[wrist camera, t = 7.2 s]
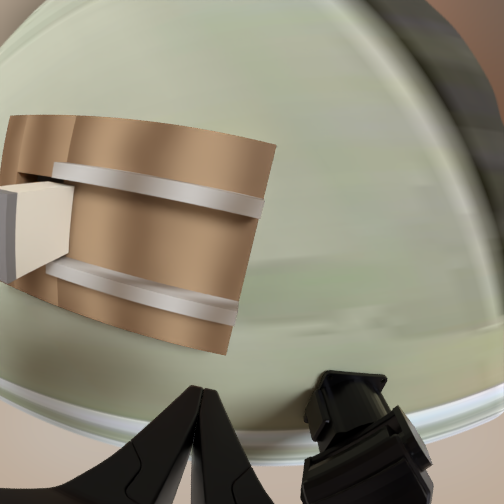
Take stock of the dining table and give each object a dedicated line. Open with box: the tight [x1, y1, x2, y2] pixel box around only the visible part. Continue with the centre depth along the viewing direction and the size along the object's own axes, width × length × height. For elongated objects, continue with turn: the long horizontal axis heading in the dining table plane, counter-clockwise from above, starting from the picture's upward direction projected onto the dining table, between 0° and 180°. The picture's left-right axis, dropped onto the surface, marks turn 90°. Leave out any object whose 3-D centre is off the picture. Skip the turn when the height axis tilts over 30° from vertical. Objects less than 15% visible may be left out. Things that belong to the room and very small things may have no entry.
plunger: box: [0, 181, 75, 284], centre depth 13 cm, size 2×5×6 cm, turn 167°
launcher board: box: [0, 115, 276, 355], centre depth 18 cm, size 21×14×4 cm, turn 77°
